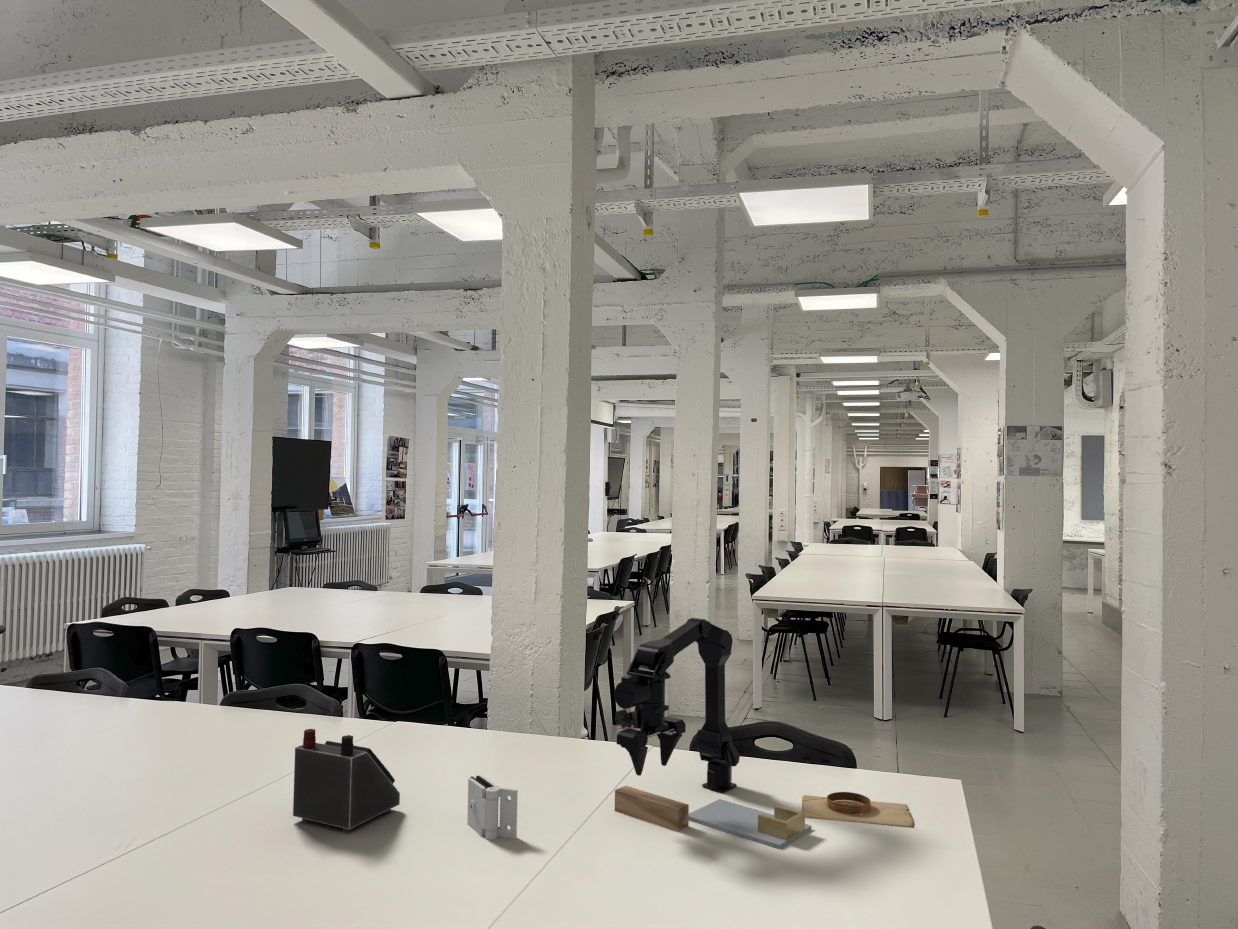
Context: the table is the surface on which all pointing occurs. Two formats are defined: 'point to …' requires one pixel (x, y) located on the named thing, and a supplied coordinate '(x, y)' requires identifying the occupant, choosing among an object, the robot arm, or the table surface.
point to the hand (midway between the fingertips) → (651, 770)
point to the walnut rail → (652, 808)
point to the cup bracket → (782, 823)
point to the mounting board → (738, 822)
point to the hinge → (491, 809)
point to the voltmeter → (340, 783)
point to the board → (856, 810)
